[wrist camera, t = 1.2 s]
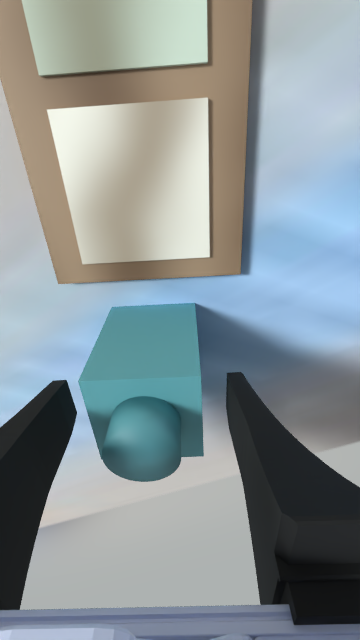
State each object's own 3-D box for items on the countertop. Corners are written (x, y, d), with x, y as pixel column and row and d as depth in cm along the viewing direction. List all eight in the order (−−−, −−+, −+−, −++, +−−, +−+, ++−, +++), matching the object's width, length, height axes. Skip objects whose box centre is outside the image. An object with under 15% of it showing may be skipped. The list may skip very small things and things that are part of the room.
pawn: (194, 302, 16) (203, 409, 9) (197, 368, 18) (205, 493, 12) (112, 306, 16) (62, 415, 9) (124, 371, 18) (91, 496, 12)
